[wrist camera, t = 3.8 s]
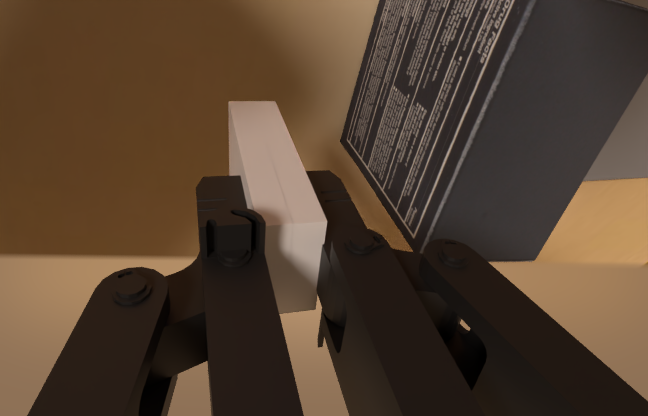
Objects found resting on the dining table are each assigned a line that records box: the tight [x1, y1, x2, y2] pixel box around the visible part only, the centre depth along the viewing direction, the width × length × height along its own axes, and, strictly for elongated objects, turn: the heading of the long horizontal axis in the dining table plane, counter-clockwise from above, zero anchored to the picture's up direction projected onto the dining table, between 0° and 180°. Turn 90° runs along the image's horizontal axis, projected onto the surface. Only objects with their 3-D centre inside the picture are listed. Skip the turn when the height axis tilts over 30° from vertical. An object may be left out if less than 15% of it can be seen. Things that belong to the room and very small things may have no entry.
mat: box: [583, 0, 648, 181], centre depth 28 cm, size 19×16×1 cm
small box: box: [340, 0, 648, 262], centre depth 21 cm, size 11×6×10 cm, turn 166°
